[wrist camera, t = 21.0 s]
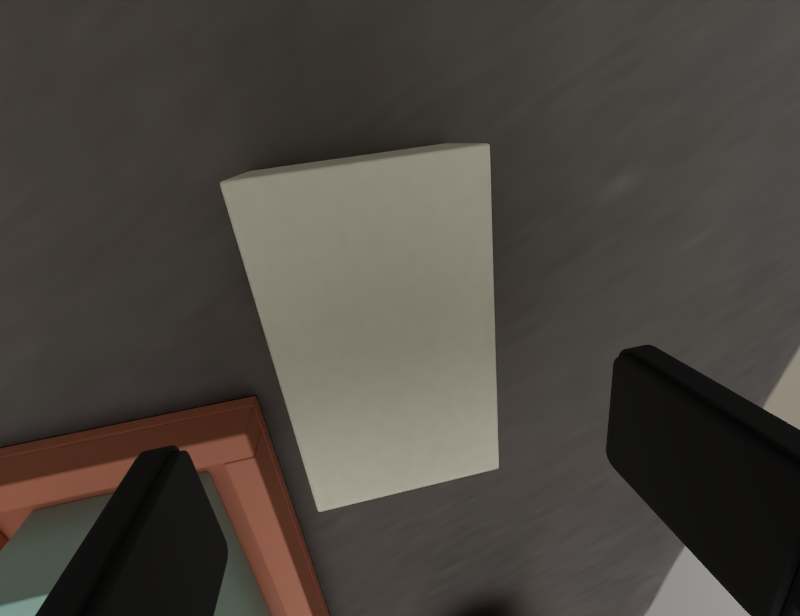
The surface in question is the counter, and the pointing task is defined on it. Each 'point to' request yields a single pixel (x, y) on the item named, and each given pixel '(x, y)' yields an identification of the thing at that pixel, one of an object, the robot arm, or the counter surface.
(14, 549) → the pad base
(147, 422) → the holder
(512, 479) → the counter surface
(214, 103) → the counter surface
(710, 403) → the robot arm
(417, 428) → the pad top
